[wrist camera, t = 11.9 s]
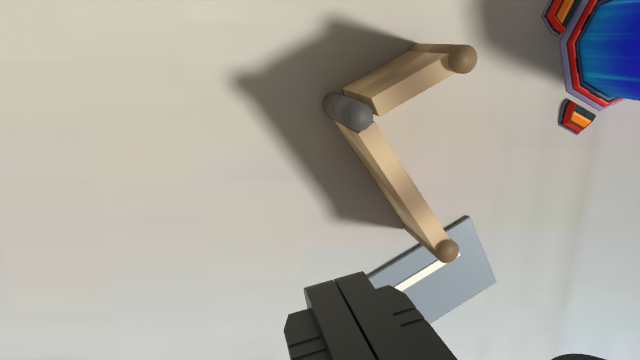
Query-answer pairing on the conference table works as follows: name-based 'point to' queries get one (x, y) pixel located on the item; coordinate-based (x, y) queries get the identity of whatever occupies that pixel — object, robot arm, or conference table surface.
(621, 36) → the fantasy tower
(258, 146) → the conference table surface
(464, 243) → the card
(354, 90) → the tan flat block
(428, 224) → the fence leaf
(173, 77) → the conference table surface
